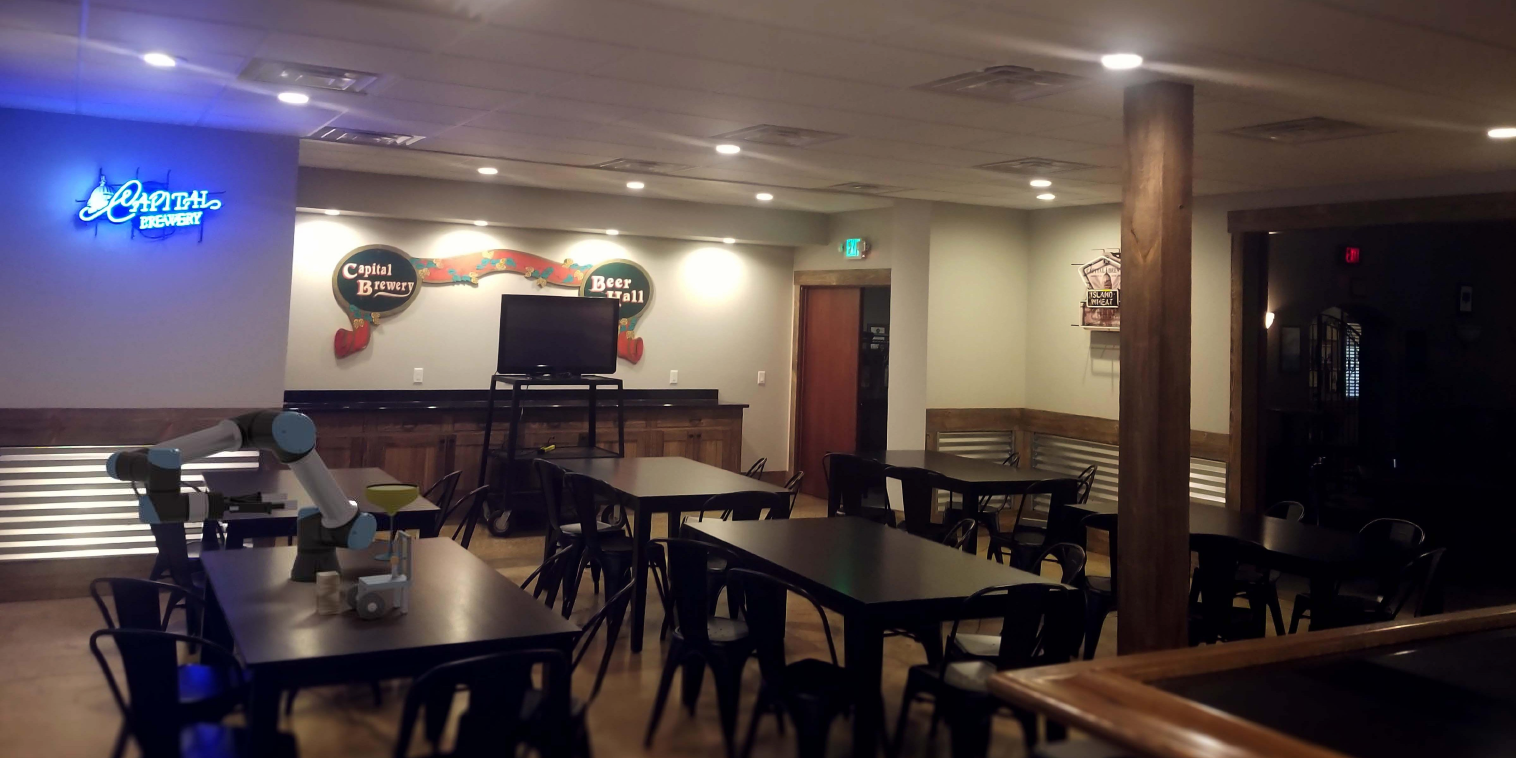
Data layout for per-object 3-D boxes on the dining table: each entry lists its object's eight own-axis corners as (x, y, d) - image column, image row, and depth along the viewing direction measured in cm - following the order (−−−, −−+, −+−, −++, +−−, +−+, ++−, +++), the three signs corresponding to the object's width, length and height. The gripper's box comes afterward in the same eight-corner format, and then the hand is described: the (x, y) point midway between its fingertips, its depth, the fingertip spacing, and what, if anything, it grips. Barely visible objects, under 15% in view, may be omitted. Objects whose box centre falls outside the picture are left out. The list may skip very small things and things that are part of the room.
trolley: (358, 621, 296) (359, 542, 295) (345, 608, 309) (346, 533, 308) (414, 614, 304) (415, 537, 304) (398, 602, 317) (399, 529, 316)
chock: (320, 615, 301) (320, 576, 301) (316, 611, 305) (316, 572, 305) (339, 613, 304) (339, 574, 304) (334, 609, 308) (335, 570, 308)
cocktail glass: (397, 550, 392) (398, 481, 391) (428, 557, 382) (429, 486, 381) (352, 557, 378) (353, 486, 377) (384, 565, 367) (385, 491, 366)
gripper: (199, 513, 297) (282, 508, 309) (212, 527, 276) (301, 521, 288) (199, 486, 296) (283, 482, 308) (212, 498, 276) (301, 493, 288)
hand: (292, 501), depth 298 cm, fingers open, 13 cm apart
